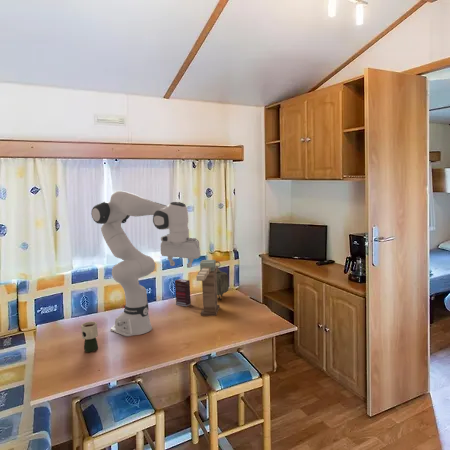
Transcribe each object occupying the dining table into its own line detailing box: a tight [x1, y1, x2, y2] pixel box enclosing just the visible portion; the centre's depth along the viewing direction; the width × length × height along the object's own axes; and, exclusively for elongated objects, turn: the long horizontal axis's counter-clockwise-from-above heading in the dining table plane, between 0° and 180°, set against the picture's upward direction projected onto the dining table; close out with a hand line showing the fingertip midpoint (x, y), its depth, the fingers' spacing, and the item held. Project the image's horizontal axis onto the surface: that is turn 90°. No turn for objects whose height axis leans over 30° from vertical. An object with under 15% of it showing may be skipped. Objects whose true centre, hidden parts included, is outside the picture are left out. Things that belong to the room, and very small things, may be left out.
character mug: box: [80, 321, 99, 353], centre depth 178 cm, size 11×7×13 cm, turn 32°
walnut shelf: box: [197, 265, 220, 317], centre depth 222 cm, size 18×9×26 cm, turn 172°
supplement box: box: [174, 278, 192, 307], centre depth 238 cm, size 9×5×16 cm, turn 58°
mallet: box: [195, 259, 217, 282], centre depth 210 cm, size 27×8×5 cm, turn 172°
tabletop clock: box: [216, 261, 230, 300], centre depth 246 cm, size 14×9×25 cm, turn 128°
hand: (180, 266), depth 175 cm, fingers open, 8 cm apart
